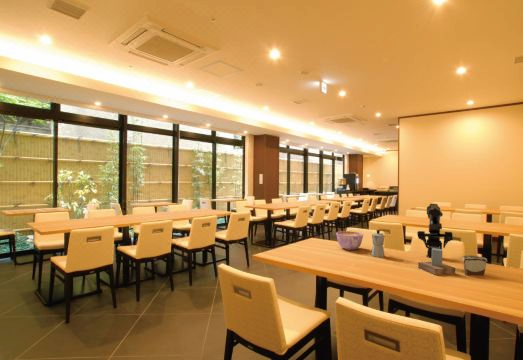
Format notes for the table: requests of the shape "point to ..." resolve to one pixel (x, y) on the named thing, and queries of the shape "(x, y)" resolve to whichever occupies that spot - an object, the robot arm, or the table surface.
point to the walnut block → (436, 268)
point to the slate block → (436, 257)
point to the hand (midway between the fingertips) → (434, 247)
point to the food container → (474, 265)
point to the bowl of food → (349, 239)
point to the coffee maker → (378, 245)
